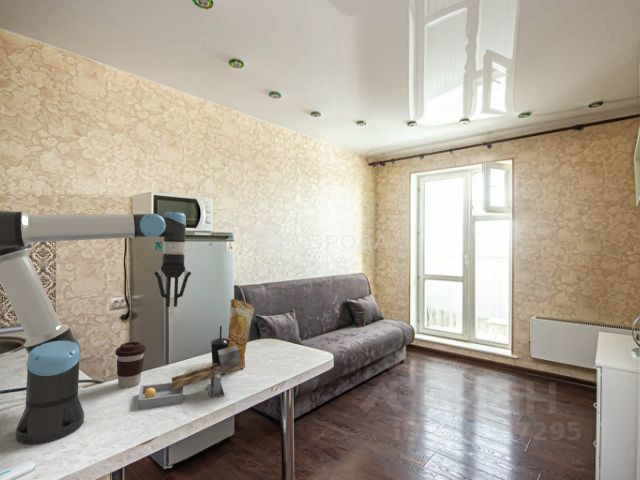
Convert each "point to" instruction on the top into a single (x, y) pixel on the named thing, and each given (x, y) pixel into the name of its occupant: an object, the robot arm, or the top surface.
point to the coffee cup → (130, 363)
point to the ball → (150, 393)
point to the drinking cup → (218, 347)
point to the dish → (160, 396)
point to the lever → (210, 368)
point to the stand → (215, 384)
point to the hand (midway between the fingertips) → (171, 315)
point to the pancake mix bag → (240, 326)
